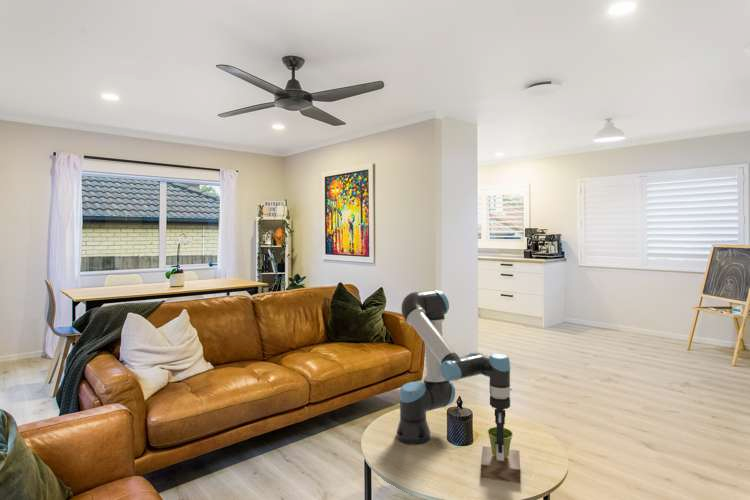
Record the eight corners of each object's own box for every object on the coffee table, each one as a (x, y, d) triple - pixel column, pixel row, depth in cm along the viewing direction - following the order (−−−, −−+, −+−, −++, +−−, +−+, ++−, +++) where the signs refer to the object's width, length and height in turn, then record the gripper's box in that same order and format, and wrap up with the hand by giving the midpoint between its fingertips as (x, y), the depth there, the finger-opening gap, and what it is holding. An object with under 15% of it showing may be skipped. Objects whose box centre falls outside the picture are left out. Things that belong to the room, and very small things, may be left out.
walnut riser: (480, 477, 158) (480, 464, 158) (482, 458, 172) (482, 446, 172) (520, 483, 154) (520, 469, 154) (519, 463, 168) (519, 450, 167)
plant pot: (514, 462, 157) (514, 439, 157) (488, 460, 159) (488, 437, 159) (511, 449, 167) (511, 427, 166) (486, 447, 168) (486, 426, 168)
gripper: (510, 407, 151) (511, 470, 152) (509, 386, 171) (510, 442, 172) (488, 405, 153) (489, 467, 154) (490, 385, 173) (491, 439, 174)
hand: (500, 453), depth 163 cm, fingers closed on plant pot, 8 cm apart
